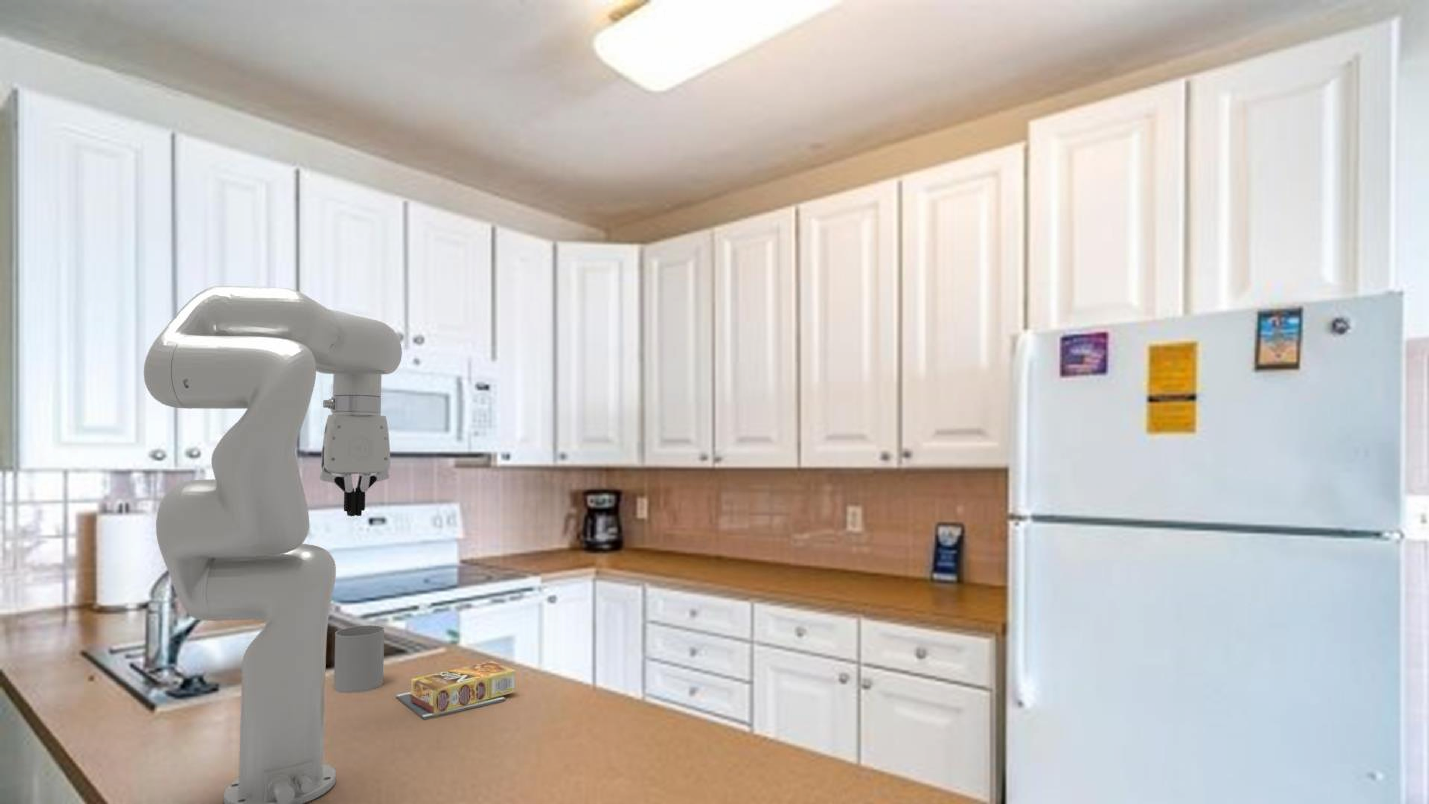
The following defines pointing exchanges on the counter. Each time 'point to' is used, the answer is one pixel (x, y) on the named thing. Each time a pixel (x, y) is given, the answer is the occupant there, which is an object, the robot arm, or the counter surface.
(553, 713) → the counter surface
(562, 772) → the counter surface
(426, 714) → the mat
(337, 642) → the cup
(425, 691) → the candy box
